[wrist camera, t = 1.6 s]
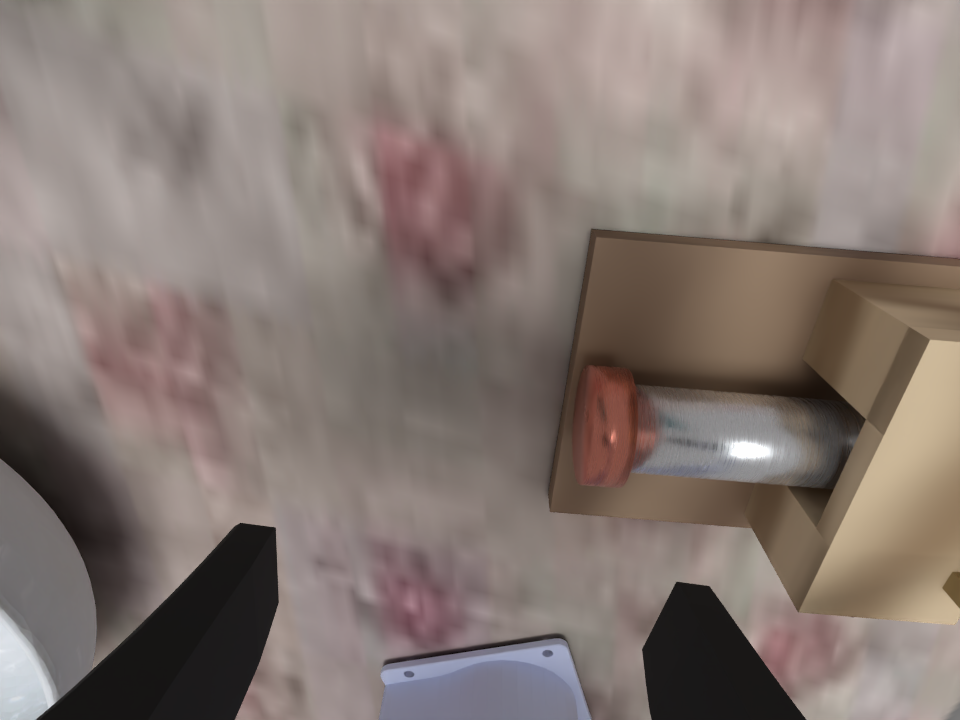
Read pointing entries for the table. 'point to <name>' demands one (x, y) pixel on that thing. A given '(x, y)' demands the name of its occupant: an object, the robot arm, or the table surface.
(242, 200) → the table surface
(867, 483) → the hitch block
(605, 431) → the pin
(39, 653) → the serving bowl
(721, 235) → the table surface
